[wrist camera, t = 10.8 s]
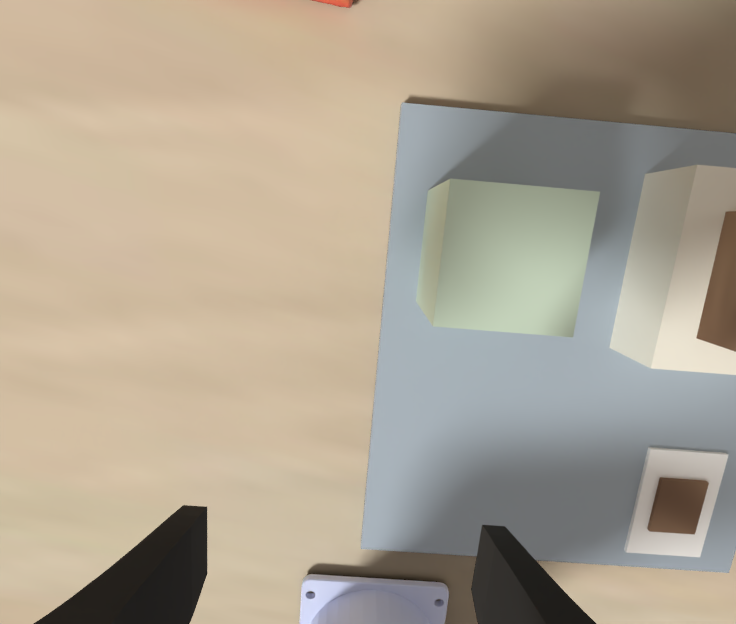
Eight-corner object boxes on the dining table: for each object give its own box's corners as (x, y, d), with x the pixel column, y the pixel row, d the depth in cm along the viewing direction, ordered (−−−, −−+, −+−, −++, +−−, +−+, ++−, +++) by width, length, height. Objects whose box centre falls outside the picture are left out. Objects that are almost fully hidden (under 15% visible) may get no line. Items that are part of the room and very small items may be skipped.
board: (721, 565, 23) (735, 578, 23) (361, 541, 23) (360, 554, 22) (843, 146, 19) (866, 142, 18) (400, 105, 18) (402, 99, 18)
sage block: (521, 309, 20) (572, 337, 15) (415, 301, 20) (432, 326, 15) (539, 200, 19) (600, 191, 14) (427, 190, 19) (450, 178, 14)
